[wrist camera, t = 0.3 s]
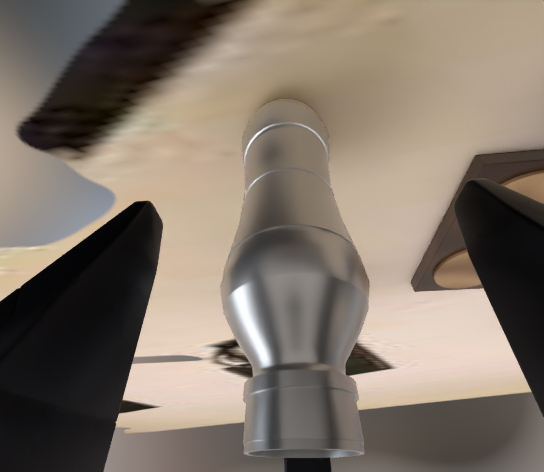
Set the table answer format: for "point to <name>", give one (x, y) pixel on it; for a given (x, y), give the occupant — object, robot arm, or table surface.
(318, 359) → the silver metal bottle
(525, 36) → the table surface
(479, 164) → the coaster board
